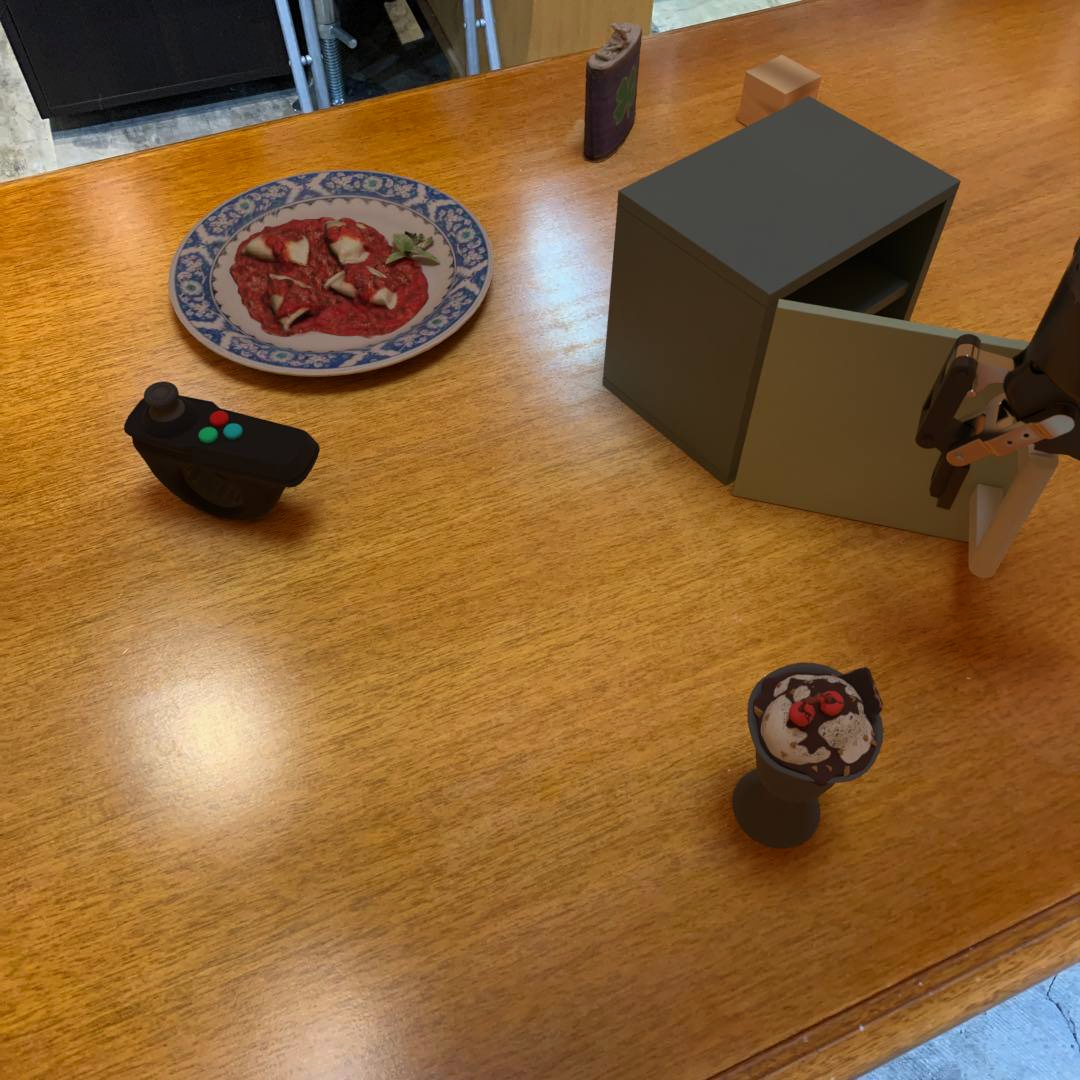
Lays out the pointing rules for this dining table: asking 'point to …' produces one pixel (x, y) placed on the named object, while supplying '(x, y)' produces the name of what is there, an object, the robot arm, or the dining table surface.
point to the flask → (611, 92)
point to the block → (775, 88)
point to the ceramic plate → (330, 273)
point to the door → (877, 431)
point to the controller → (218, 453)
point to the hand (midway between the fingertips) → (1022, 519)
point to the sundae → (805, 747)
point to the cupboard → (758, 263)
